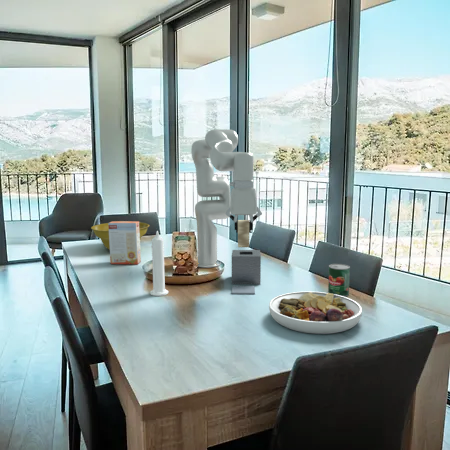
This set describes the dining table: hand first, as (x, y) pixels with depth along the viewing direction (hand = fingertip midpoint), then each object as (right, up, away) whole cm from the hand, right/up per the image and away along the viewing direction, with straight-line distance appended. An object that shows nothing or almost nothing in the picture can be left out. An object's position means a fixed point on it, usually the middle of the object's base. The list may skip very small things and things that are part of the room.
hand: (243, 231), depth 177 cm
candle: (-33, -24, +1) cm, 41 cm away
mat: (0, -24, +4) cm, 24 cm away
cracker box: (-57, -17, +49) cm, 77 cm away
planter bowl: (-66, -11, +81) cm, 105 cm away
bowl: (+22, -29, -26) cm, 45 cm away
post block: (+2, -21, +18) cm, 28 cm away
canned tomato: (+37, -24, 0) cm, 44 cm away
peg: (0, -6, +1) cm, 6 cm away
